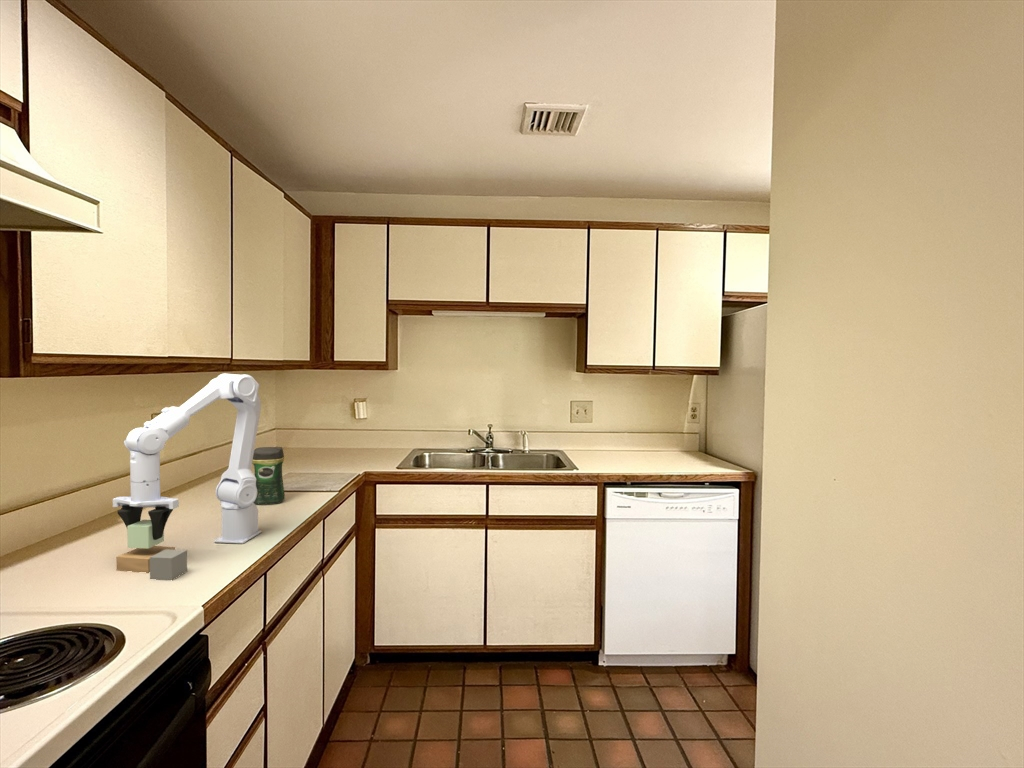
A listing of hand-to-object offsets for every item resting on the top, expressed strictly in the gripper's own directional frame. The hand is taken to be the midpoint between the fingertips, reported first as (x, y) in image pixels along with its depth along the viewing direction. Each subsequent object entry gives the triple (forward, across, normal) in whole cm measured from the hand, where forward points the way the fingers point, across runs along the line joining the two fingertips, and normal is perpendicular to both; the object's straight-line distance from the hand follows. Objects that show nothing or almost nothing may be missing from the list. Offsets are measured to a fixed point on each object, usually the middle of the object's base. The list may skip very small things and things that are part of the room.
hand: (146, 537), depth 127 cm
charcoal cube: (+6, +9, -5) cm, 12 cm away
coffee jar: (+7, 0, +56) cm, 56 cm away
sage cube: (+2, 0, 0) cm, 2 cm away
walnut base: (+7, 0, 0) cm, 7 cm away
